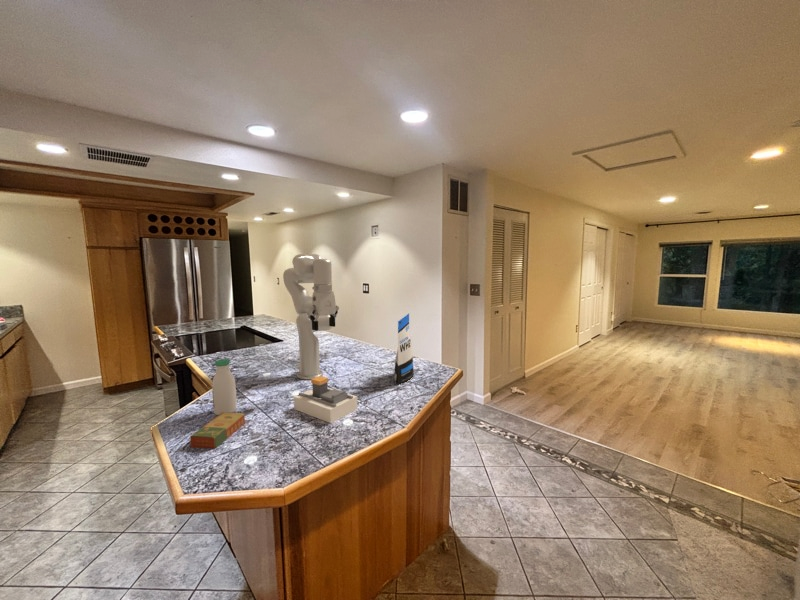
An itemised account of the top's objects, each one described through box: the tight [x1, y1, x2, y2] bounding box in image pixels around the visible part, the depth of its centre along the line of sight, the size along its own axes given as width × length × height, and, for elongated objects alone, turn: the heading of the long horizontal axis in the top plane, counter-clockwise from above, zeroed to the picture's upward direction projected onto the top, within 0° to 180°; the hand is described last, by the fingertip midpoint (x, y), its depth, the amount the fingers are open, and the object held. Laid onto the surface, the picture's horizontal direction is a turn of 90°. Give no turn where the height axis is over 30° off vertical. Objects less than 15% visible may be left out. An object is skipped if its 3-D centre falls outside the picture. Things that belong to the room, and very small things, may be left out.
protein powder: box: [393, 313, 415, 386], centre depth 161 cm, size 10×24×30 cm, turn 167°
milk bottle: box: [211, 358, 238, 416], centre depth 124 cm, size 8×8×20 cm
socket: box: [293, 386, 358, 424], centre depth 127 cm, size 20×14×6 cm
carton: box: [189, 412, 246, 450], centre depth 108 cm, size 8×16×4 cm, turn 174°
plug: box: [310, 375, 329, 399], centre depth 128 cm, size 5×5×10 cm
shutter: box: [321, 388, 348, 404], centre depth 123 cm, size 7×7×3 cm
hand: (324, 328), depth 141 cm, fingers open, 9 cm apart
